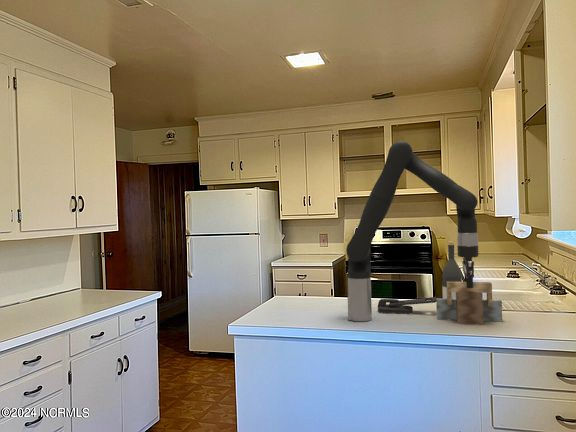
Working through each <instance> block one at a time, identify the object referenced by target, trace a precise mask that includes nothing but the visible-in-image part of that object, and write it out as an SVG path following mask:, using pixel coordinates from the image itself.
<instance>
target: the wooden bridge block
mask: <svg viewBox="0 0 576 432" xmlns="http://www.w3.org/2000/svg"><path fill="white" fill-rule="evenodd" d="M451 292H475V293H485V294H486V300H487V305H488V306H492V300H493V283H492V282H491V281H473V288H467V282H465V281H462V282H450V281H447V304H448V305H452V296H451Z"/></svg>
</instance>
